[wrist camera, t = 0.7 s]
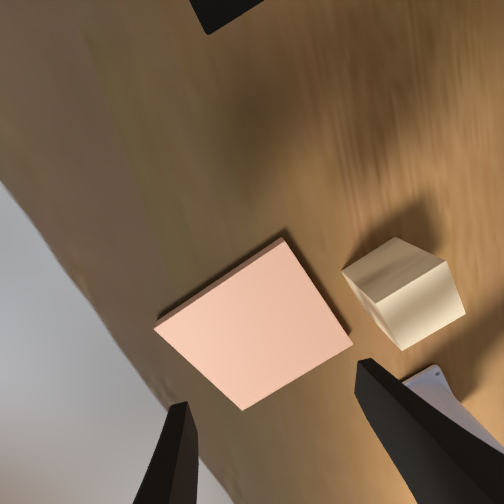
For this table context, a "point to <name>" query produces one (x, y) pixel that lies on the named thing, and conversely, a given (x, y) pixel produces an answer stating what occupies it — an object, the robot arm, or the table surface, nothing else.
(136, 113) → the table surface
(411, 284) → the birch cube
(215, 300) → the salmon pink board
